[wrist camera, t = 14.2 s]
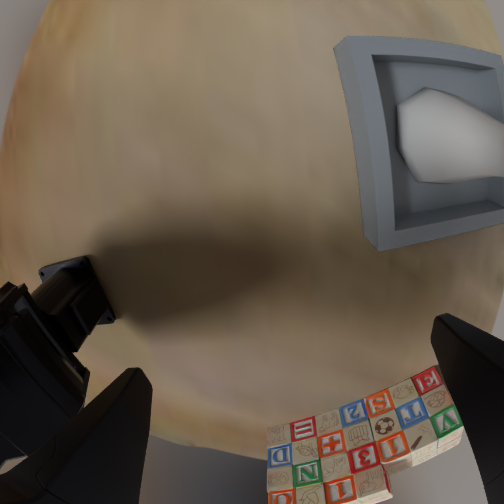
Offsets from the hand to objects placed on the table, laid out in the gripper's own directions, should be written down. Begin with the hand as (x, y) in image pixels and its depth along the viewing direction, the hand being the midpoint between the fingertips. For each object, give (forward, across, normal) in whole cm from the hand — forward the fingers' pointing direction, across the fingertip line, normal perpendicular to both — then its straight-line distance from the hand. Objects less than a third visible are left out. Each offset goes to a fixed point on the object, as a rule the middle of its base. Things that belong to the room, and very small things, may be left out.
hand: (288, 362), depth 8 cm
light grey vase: (+13, -13, -4) cm, 18 cm away
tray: (+13, -13, -4) cm, 19 cm away
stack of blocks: (+13, -6, +26) cm, 30 cm away
